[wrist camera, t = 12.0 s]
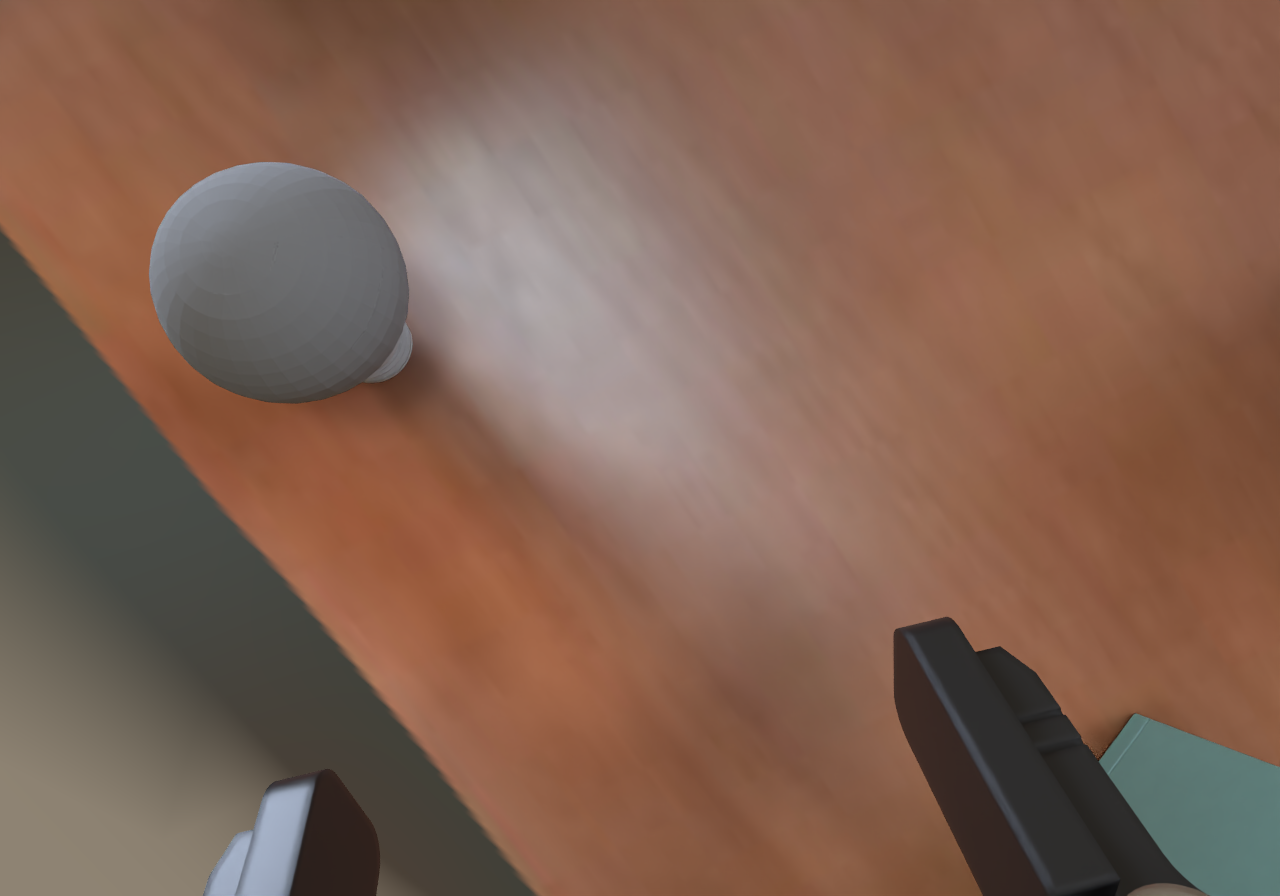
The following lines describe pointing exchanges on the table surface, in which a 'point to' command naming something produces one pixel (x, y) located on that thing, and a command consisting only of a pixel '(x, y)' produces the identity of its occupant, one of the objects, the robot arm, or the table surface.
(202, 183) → the light bulb
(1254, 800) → the open box
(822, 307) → the table surface
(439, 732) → the table surface
